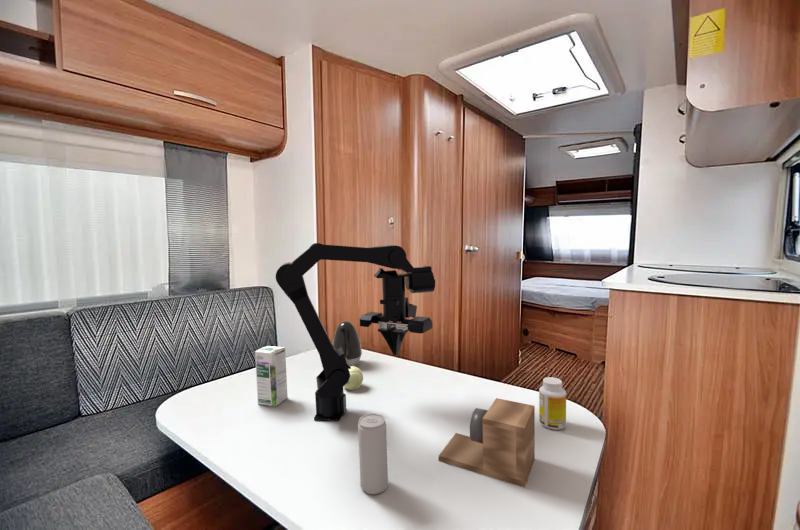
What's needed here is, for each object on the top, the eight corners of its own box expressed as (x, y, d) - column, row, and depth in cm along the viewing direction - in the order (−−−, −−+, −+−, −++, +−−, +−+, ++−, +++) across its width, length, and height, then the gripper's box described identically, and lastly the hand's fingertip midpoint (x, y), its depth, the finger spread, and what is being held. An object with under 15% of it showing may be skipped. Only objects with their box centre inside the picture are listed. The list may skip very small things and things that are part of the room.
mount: (438, 460, 69) (437, 407, 68) (455, 437, 77) (455, 389, 76) (525, 487, 61) (524, 428, 60) (534, 458, 69) (534, 405, 68)
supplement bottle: (571, 425, 80) (571, 381, 79) (556, 434, 77) (556, 387, 76) (548, 415, 85) (549, 373, 84) (534, 423, 82) (533, 379, 81)
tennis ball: (336, 364, 105) (350, 370, 100) (355, 362, 109) (369, 367, 104) (335, 387, 104) (348, 393, 99) (354, 383, 109) (367, 389, 104)
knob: (469, 447, 67) (469, 416, 67) (479, 431, 73) (479, 402, 72) (516, 460, 63) (516, 427, 63) (523, 442, 68) (523, 412, 68)
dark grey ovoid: (327, 370, 119) (325, 325, 117) (338, 359, 129) (336, 317, 128) (357, 371, 117) (355, 325, 116) (365, 360, 127) (363, 318, 126)
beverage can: (384, 498, 60) (381, 428, 59) (356, 494, 61) (353, 426, 60) (390, 478, 64) (388, 414, 64) (365, 476, 65) (362, 412, 64)
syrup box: (256, 404, 95) (253, 351, 94) (271, 395, 101) (268, 344, 100) (275, 407, 94) (271, 352, 92) (288, 397, 99) (285, 345, 98)
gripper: (440, 291, 93) (442, 350, 94) (380, 288, 103) (382, 342, 104) (421, 298, 84) (423, 364, 85) (356, 294, 93) (359, 353, 94)
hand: (395, 354), depth 92 cm, fingers closed
